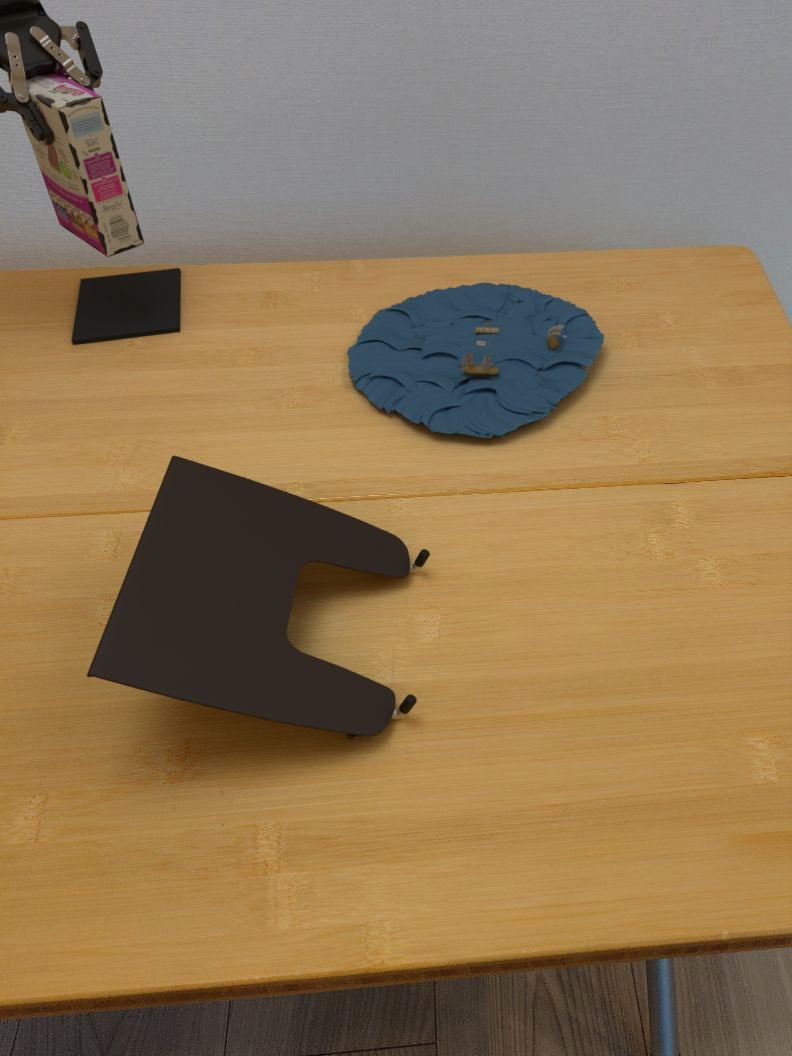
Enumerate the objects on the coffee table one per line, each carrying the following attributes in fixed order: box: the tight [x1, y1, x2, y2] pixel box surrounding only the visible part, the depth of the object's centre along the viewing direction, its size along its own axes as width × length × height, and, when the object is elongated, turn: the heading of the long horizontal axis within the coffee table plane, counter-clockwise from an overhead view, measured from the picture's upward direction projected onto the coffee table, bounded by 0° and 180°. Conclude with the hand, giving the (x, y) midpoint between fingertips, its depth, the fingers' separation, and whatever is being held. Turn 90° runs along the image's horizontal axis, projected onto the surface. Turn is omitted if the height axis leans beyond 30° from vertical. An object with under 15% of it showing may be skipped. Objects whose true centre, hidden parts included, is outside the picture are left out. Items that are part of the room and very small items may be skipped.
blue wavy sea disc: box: [347, 282, 605, 439], centre depth 107 cm, size 30×30×5 cm
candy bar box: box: [7, 73, 145, 258], centre depth 103 cm, size 11×5×16 cm, turn 47°
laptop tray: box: [86, 455, 431, 741], centre depth 78 cm, size 23×23×9 cm
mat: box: [71, 267, 182, 345], centre depth 116 cm, size 12×14×1 cm
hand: (76, 133), depth 99 cm, fingers closed on candy bar box, 5 cm apart
